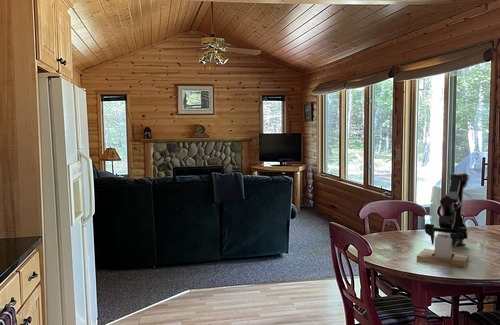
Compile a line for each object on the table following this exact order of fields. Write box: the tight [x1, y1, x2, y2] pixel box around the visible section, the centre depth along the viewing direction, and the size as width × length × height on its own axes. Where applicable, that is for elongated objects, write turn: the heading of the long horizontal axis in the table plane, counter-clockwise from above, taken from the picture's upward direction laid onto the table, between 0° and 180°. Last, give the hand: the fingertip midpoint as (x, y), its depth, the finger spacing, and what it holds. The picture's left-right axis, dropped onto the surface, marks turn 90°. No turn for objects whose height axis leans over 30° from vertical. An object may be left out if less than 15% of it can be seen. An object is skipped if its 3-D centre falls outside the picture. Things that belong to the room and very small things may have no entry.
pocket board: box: [416, 248, 470, 269], centre depth 199 cm, size 14×20×2 cm
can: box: [434, 233, 453, 259], centre depth 199 cm, size 8×8×12 cm
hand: (442, 245), depth 198 cm, fingers open, 9 cm apart
